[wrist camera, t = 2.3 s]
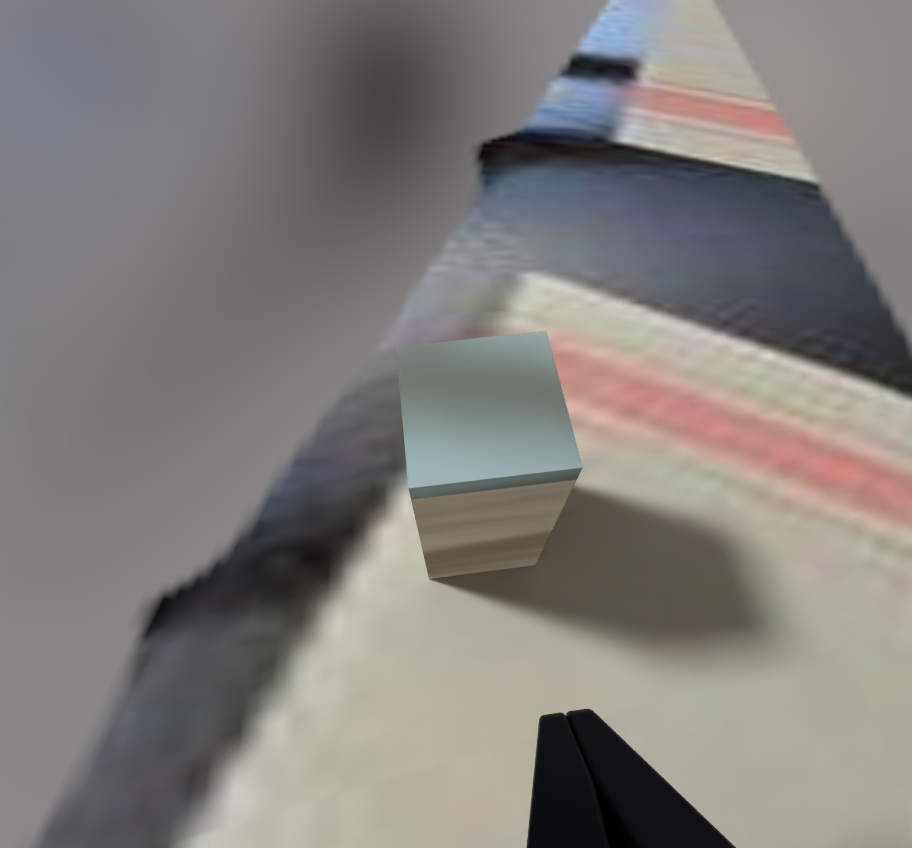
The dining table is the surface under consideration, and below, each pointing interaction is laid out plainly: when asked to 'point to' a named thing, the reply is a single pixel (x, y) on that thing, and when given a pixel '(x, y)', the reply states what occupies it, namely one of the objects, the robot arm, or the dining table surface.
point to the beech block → (485, 450)
